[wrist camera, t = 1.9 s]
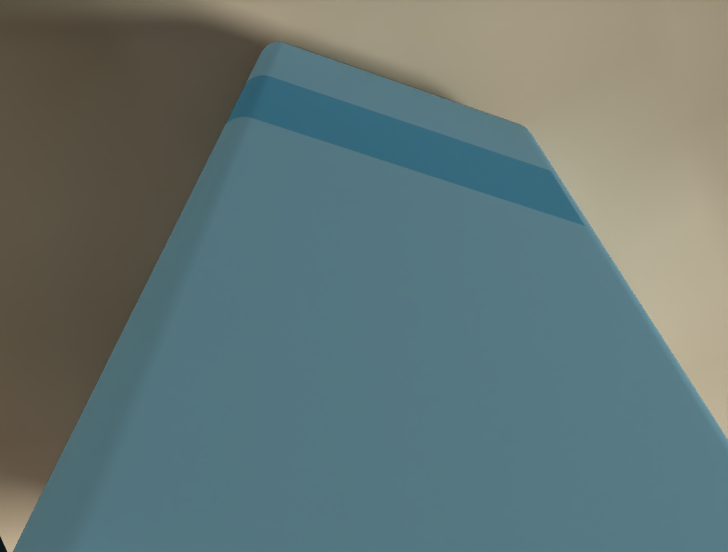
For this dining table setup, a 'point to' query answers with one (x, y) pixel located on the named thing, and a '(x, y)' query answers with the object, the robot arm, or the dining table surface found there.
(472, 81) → the dining table surface
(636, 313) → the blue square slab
